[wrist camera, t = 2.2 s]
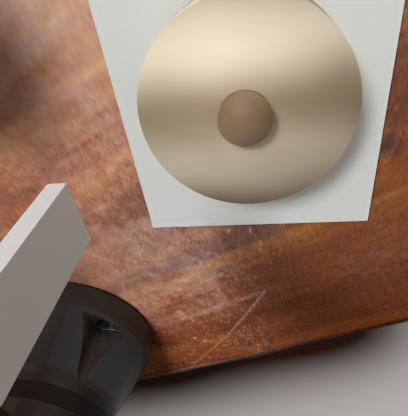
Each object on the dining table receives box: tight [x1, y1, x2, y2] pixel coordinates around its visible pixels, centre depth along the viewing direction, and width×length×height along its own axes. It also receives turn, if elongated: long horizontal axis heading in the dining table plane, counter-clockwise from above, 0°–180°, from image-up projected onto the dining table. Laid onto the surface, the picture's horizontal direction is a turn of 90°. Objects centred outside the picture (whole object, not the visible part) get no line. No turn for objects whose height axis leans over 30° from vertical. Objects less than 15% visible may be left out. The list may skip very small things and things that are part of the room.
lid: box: [137, 0, 362, 204], centre depth 20 cm, size 12×12×4 cm
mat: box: [88, 0, 405, 228], centre depth 22 cm, size 20×16×1 cm
